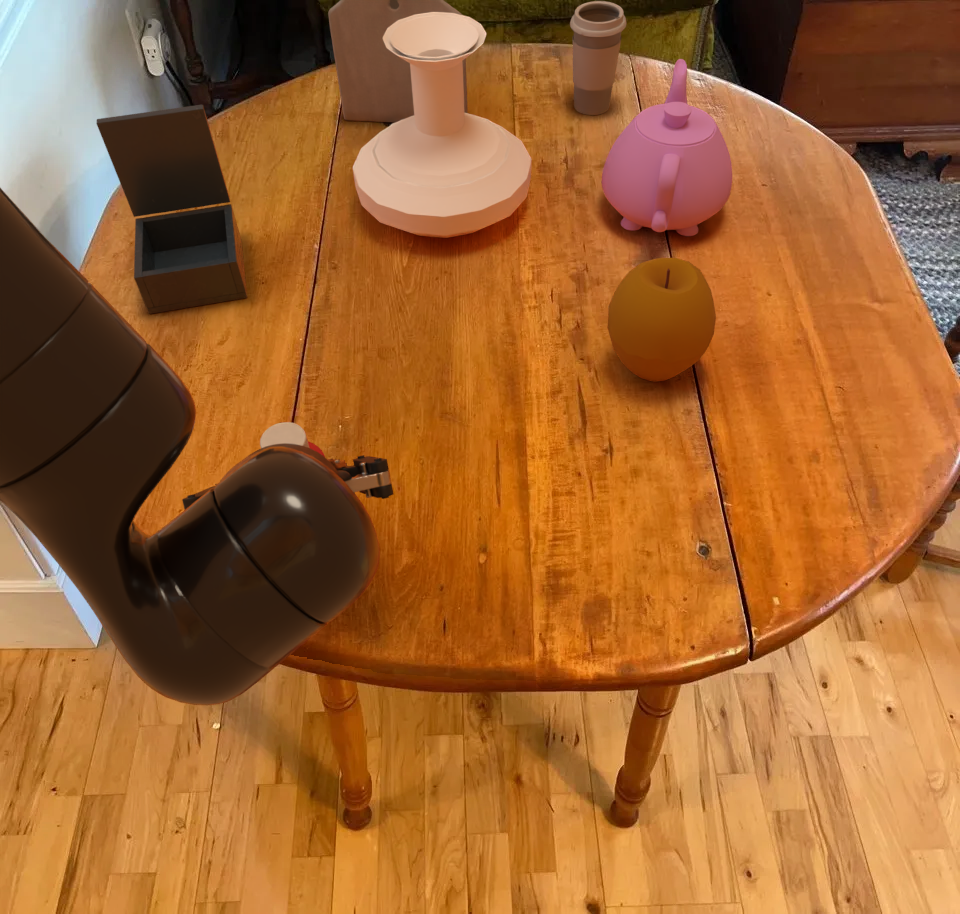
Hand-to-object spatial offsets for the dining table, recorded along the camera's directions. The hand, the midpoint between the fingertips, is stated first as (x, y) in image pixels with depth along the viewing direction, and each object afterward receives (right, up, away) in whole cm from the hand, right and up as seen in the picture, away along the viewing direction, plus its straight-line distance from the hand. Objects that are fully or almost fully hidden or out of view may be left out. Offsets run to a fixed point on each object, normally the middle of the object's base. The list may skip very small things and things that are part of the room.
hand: (298, 480), depth 67 cm
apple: (+31, +10, +17) cm, 37 cm away
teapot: (+35, +30, +33) cm, 57 cm away
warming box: (-17, +21, +27) cm, 38 cm away
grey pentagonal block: (+5, +48, +48) cm, 68 cm away
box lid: (-18, +31, +21) cm, 42 cm away
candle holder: (+10, +31, +34) cm, 47 cm away
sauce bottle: (+1, -5, +4) cm, 6 cm away
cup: (+29, +48, +47) cm, 73 cm away
